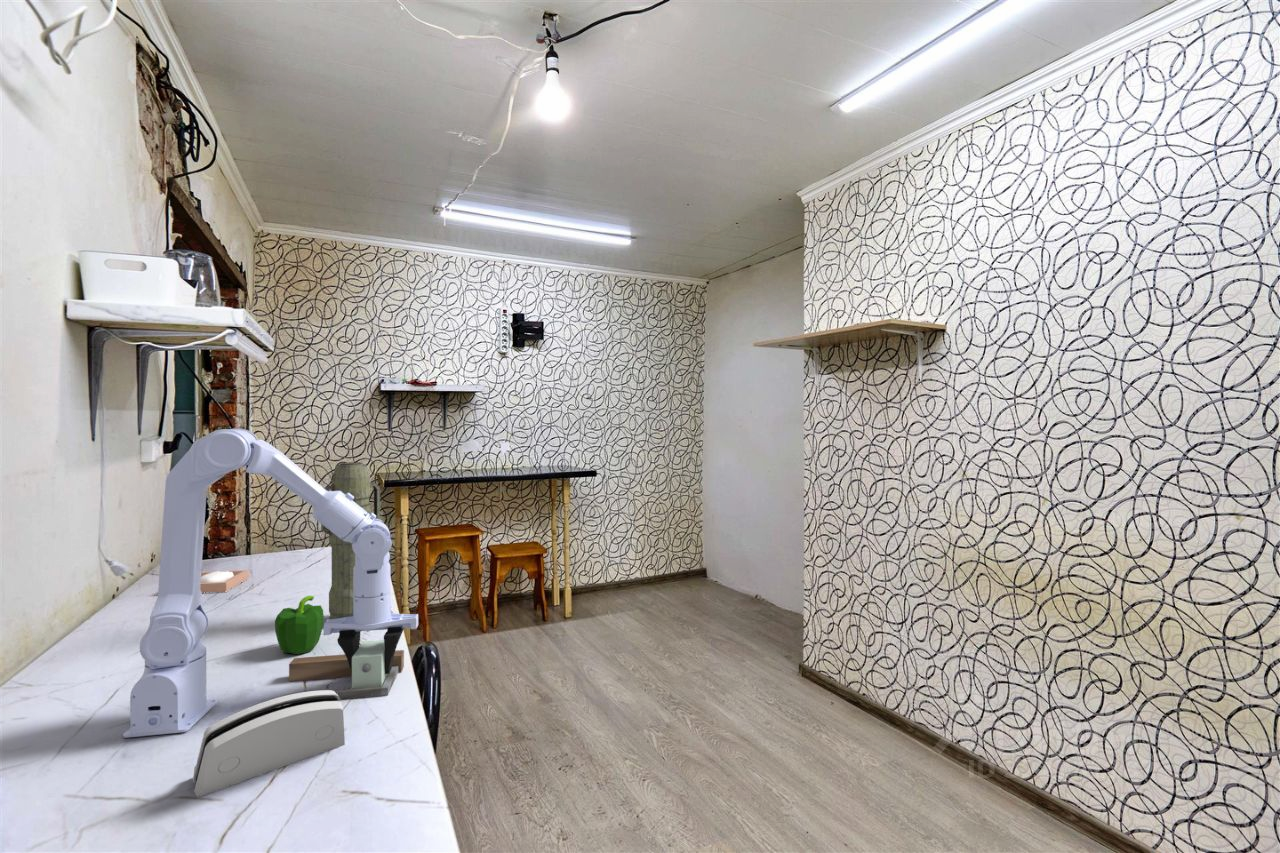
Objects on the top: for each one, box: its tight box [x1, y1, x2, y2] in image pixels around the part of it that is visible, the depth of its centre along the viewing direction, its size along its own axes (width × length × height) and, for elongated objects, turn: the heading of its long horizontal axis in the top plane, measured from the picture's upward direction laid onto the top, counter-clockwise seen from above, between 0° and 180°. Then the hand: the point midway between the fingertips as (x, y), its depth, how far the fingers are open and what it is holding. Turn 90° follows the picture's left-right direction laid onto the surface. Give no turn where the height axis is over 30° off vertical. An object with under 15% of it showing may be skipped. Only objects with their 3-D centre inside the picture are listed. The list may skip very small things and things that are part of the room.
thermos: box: [320, 461, 381, 620], centre depth 129 cm, size 9×12×35 cm
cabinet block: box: [351, 639, 388, 689], centre depth 98 cm, size 8×4×6 cm, turn 12°
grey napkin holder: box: [192, 689, 346, 798], centre depth 75 cm, size 17×5×10 cm, turn 134°
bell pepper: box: [274, 595, 324, 655], centre depth 112 cm, size 8×8×10 cm
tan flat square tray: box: [200, 569, 250, 593], centre depth 154 cm, size 13×14×2 cm
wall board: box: [288, 649, 405, 700], centre depth 98 cm, size 11×18×3 cm, turn 102°
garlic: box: [201, 570, 234, 583], centre depth 155 cm, size 8×7×4 cm
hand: (372, 672), depth 98 cm, fingers closed on cabinet block, 4 cm apart
